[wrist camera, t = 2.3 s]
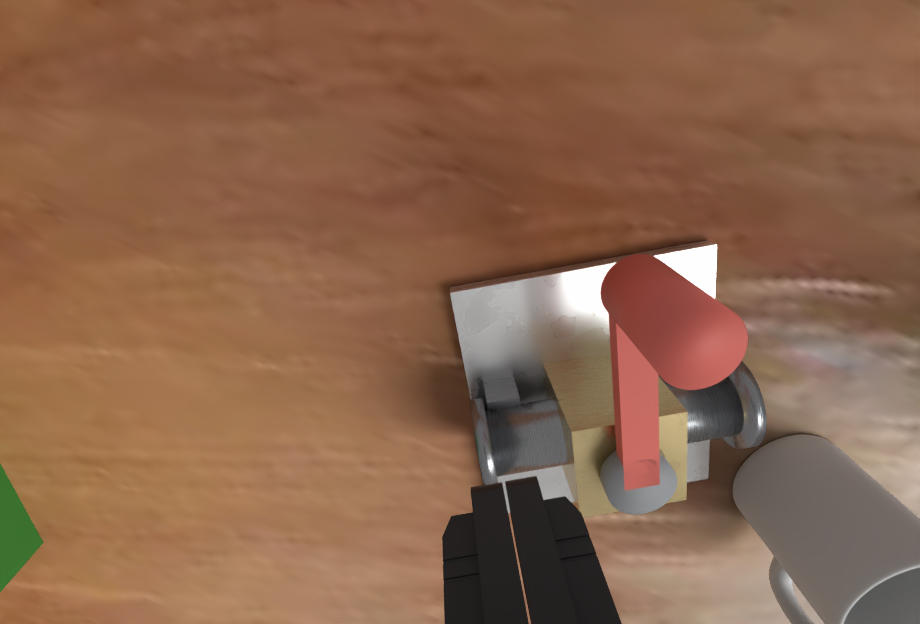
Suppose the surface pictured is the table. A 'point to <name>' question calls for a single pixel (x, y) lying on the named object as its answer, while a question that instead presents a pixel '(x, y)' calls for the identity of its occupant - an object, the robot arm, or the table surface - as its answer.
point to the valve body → (581, 382)
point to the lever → (658, 368)
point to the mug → (831, 534)
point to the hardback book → (14, 532)
